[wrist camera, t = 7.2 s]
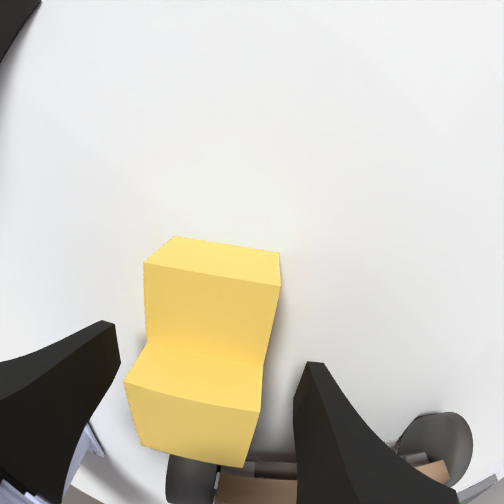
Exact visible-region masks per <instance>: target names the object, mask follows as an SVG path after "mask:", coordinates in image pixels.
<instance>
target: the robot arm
mask: <svg viewBox="0 0 504 504" xmlns="http://www.w3.org/2000/svg"><path fill="white" fill-rule="evenodd" d="M120 364H121V360H120V354H119V349H118V342H117V336H116V329H115V324H113V323H110V322H107V321H103V320H101V321H99V322H96V323H94V324H92V325H90V326H88V327H86V328H84V329H82V330H80V331H78V332H76V333H74V334H72V335H70V336H68V337H66V338H64V339H62V340H60V341H58V342H56V343H54V344H51V345H49V346H47V347H45V348H42V349H40V350H38V351H35V352H33V353H30V354H27V355H25V356H21V357H18V358H15V359H12V360H8V361H3V362H0V504H48V503H49V504H61V503H62V499H63V497H64V495H65V493H66V491H67V489H68V487H69V485H70V483H71V481H72V479H73V477H74V475H75V473H76V471H77V469H78V467H79V465H80V464H81V462H82V460H83V458H84V456H85V454H86V452H87V451H89V452H91V453H93V454H95V455H97V456H100V457H104V453H103V451H102V449H101V447H100V446H99V444H98V442H97V440H96V438H95V436H94V435H93V433H92V431H91V429H90V427H89V425H88V421H89V419H90V418H91V416H92V414H93V413H94V411H95V410H96V408H97V406H98V405H99V403H100V402H101V400H102V399H103V397H104V395H105V394H106V392H107V391H108V389H109V387H110V386H111V384H112V382H113V380H114V378H115V376H116V374H117V371H118V369H119V367H120ZM293 430H294V441H295V451H296V462H297V499H296V504H460V502H459V499H458V496H457V493H456V490H454V489H452V488H450V487H448V486H446V485H444V484H442V483H440V482H437V481H435V480H433V479H432V478H430V477H428V476H427V475H425V474H423V473H422V472H420V471H419V470H417V469H416V468H414V467H413V466H411V465H410V464H409V463H407V462H406V461H405V460H404V459H402V458H401V457H400V456H399V455H397V454H396V453H395V452H394V451H393V450H391V449H390V448H389V447H388V446H387V445H386V444H385V443H384V442H383V441H382V440H381V439H380V438H379V437H378V436H377V435H376V434H375V433H374V432H373V431H372V430H371V429H370V428H369V426H368V425H367V424H366V423H365V422H364V420H363V419H362V418H361V417H360V415H359V414H358V413H357V412H356V410H355V409H354V408H353V406H352V405H351V403H350V402H349V401H348V399H347V398H346V396H345V395H344V393H343V392H342V391H341V389H340V388H339V386H338V384H337V383H336V381H335V380H334V378H333V377H332V375H331V374H330V372H329V370H328V369H327V367H326V366H325V364H324V363H319V362H308V361H307V363H306V366H305V369H304V372H303V374H302V377H301V380H300V382H299V385H298V388H297V390H296V393H295V396H294V399H293ZM42 499H43V500H42ZM45 501H46V502H45Z"/></svg>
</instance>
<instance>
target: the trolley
mask: <svg viewBox="0 0 504 504" xmlns="http://www.w3.org/2000/svg"><path fill="white" fill-rule="evenodd" d="M472 452H473V438H472V433H471V430H470V427H469V425H468V424H467V422H466V421H465V419H464V418H463V417H462V416H460V415H459V414H457V413H454V412H444V413H439V414H433V415H427V416H422V417H420V418H418V419H416V420H415V421H413V422H412V423H411V424H410V425H409V427H408V428H407V429H406V431H405V433H404V435H403V437H402V439H401V441H400V445H399V448H398V453H397V455H399V456H400V457H401V458H402V459H404V460H405V461H406V462H407V463H409V464H410V465H411V466H413V467H414V468H416V469H417V470H419V471H420V472H422V473H423V474H425V475H427V476H428V477H430V478H432V479H433V480H435V481H437V482H440V483H442V484H444V485H446V486H448V487H452V486H453V485H455V484H456V483H457V482H458V481H459V480H460V479H461V478H462V477H463V475H464V474H465V472H466V470H467V469H468V466H469V464H470V461H471V457H472ZM217 472H220V477H219V483H218V488H217V494H216V500H215V504H296V499H297V480H275V479H261V478H254V477H264V478H279V479H297V463H286V462H270V461H259V460H249V459H245V462H244V465H243V468H239V467H232V466H225V465H219V464H213V463H208V462H203V461H198V460H193V459H189V458H185V457H181V456H177V455H173V454H170V456H169V461H168V467H167V474H166V487H165V492H166V499H167V502H168V503H172V504H213V499H214V493H215V491H214V486H215V480H216V475H217Z"/></svg>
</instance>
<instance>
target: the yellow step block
mask: <svg viewBox="0 0 504 504" xmlns="http://www.w3.org/2000/svg"><path fill="white" fill-rule="evenodd" d="M143 271H144V306H145V324H146V338H147V344H146V345H145V347H144V348H143V350H142V352H141V353H140V355H139V356H138V358H137V360H136V361H135V363H134V364H133V366H132V368H131V369H130V371H129V373H128V374H127V376H126V377H125V379H124V381H123V382H124V386H125V391H126V395H127V399H128V403H129V407H130V410H131V414H132V417H133V421H134V424H135V428H136V431H137V434H138V437H139V440H140V444H141V445H142V446H145V447H149V448H152V449H155V450H158V451H162V452H165V453H169V454H173V455H177V456H181V457H185V458H189V459H193V460H198V461H203V462H208V463H213V464H219V465H225V466H232V467H239V468H243V465H244V462H245V459H246V456H247V453H248V450H249V447H250V444H251V441H252V437H253V434H254V431H255V428H256V424H257V421H258V418H259V414H260V408H261V392H262V376H263V364H264V360H265V356H266V352H267V347H268V343H269V339H270V334H271V330H272V325H273V321H274V316H275V312H276V307H277V303H278V298H279V293H280V288H281V278H280V263H279V253H278V252H272V251H265V250H259V249H253V248H247V247H240V246H234V245H228V244H222V243H215V242H209V241H203V240H196V239H190V238H184V237H177V236H174V237H173V238H172V239H171V240H169V241H168V242H167V243H166V244H164V245H163V246H162V247H161V248H160V249H158V250H157V251H156V252H155V253H154V254H153V255H151V256H150V257H149V258H148V259H147V260H145V261H144V262H143Z"/></svg>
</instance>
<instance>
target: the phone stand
mask: <svg viewBox="0 0 504 504" xmlns="http://www.w3.org/2000/svg"><path fill="white" fill-rule="evenodd" d="M40 1H41V0H0V61H1V60H2V58H3V56H4V54H5V53H6V51H7V49H8V47H9V46H10V44H11V43H12V41H13V39H14V38H15V36H16V35H17V33H18V32H19V30H20V29H21V27H22V26H23V24H24V23H25V21H26V20H27V19H28V17H29V16H30V14H31V13H32V12H33V10H34V9H35V8H36V6H37V5H38V4H39V3H40Z"/></svg>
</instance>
